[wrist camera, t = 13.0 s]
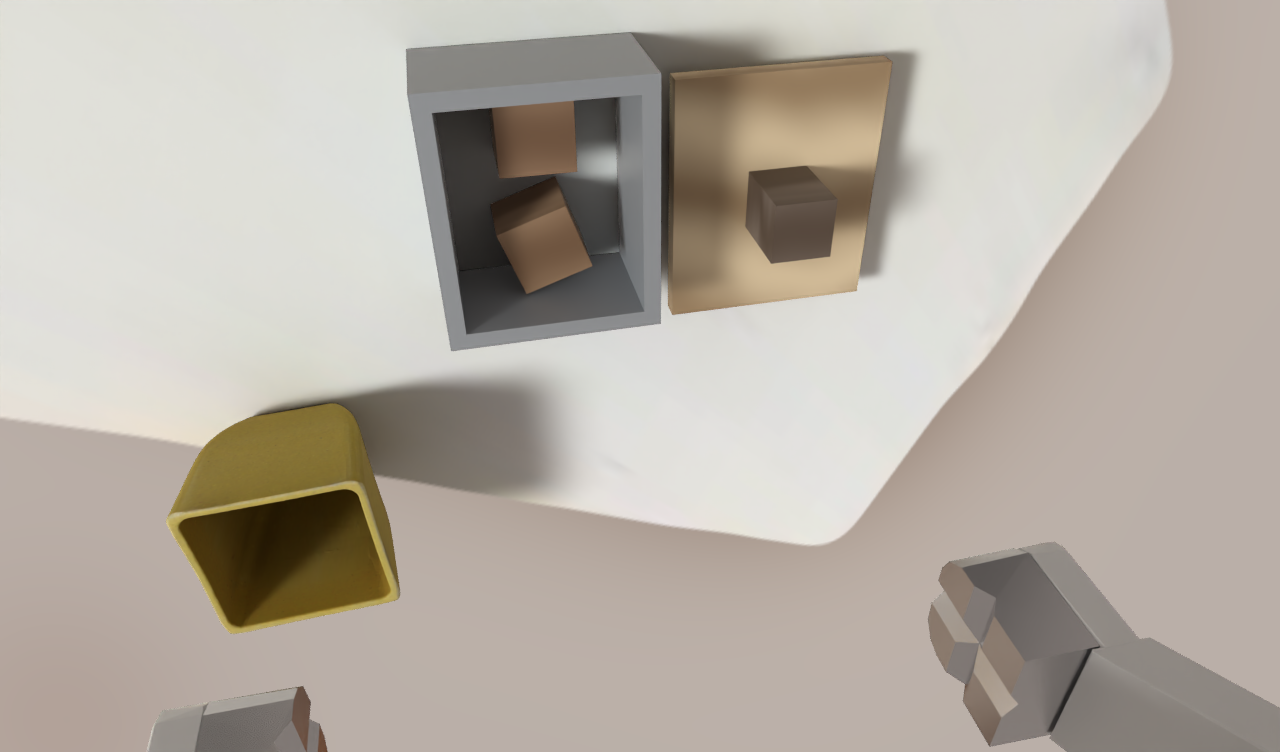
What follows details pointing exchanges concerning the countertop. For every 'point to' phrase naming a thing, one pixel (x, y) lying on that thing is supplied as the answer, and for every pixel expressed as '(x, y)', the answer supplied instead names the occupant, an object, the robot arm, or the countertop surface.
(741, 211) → the lid
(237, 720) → the robot arm
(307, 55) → the countertop surface
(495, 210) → the block
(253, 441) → the flower pot
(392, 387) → the countertop surface
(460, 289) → the box
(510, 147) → the block
